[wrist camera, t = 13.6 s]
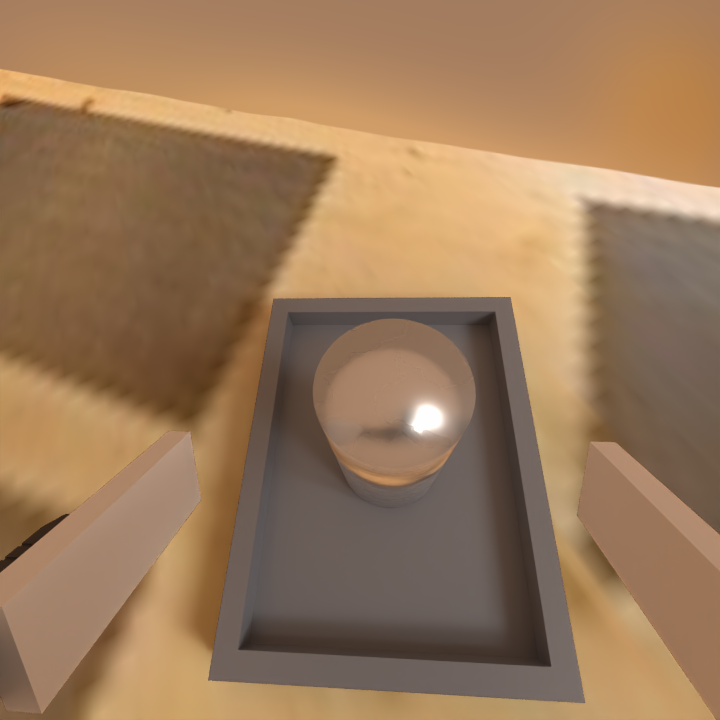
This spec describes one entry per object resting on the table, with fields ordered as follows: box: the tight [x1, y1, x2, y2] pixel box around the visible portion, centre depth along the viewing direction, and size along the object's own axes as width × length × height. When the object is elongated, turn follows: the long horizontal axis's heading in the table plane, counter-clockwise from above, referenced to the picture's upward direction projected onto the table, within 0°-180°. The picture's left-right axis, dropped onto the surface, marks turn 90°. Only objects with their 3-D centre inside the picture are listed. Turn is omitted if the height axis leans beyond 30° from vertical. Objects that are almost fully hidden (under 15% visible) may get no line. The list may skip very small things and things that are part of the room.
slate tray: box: [208, 297, 585, 703], centre depth 24 cm, size 17×22×2 cm
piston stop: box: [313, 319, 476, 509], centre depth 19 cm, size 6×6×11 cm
